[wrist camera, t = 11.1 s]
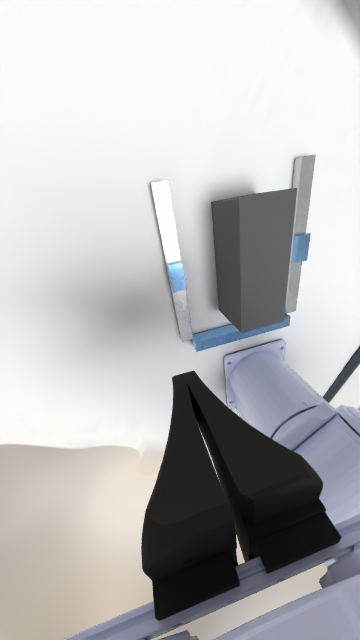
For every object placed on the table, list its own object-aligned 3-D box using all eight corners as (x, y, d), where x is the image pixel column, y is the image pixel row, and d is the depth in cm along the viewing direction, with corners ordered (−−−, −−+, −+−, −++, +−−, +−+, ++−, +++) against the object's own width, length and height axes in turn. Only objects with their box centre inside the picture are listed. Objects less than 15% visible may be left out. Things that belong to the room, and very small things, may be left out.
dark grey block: (253, 300, 22) (283, 321, 18) (218, 309, 22) (241, 333, 18) (255, 193, 17) (297, 187, 13) (210, 202, 17) (239, 198, 13)
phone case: (345, 408, 39) (405, 335, 32) (353, 415, 37) (418, 341, 31) (309, 408, 36) (368, 329, 29) (317, 416, 34) (379, 335, 28)
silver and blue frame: (375, 293, 26) (389, 297, 24) (182, 346, 23) (185, 354, 21) (427, 135, 18) (450, 130, 17) (150, 184, 15) (152, 181, 14)
